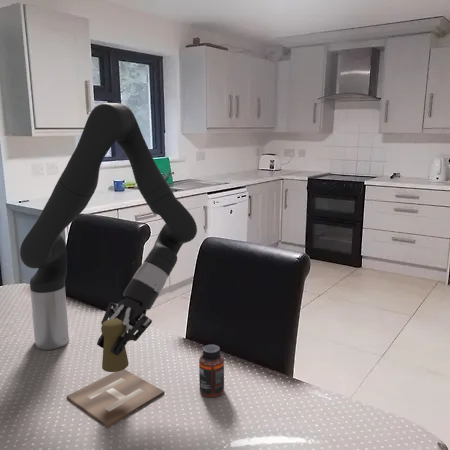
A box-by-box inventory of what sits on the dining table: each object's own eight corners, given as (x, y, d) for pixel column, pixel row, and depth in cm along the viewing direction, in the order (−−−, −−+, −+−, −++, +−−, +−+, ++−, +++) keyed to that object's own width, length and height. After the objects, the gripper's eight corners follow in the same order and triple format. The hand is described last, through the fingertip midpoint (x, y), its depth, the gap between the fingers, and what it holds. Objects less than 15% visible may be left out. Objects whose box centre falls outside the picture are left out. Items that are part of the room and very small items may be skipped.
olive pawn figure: (121, 373, 97) (119, 327, 95) (97, 370, 98) (93, 325, 96) (132, 359, 103) (130, 316, 101) (109, 357, 104) (106, 314, 102)
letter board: (66, 398, 101) (66, 395, 101) (122, 370, 113) (122, 368, 113) (107, 427, 91) (107, 425, 91) (164, 393, 103) (164, 391, 103)
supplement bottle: (227, 387, 106) (227, 344, 104) (219, 401, 101) (219, 356, 98) (204, 382, 108) (204, 340, 106) (195, 395, 103) (195, 352, 100)
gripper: (118, 271, 107) (78, 334, 100) (157, 284, 98) (115, 354, 91) (136, 286, 112) (99, 346, 105) (175, 299, 103) (136, 366, 96)
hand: (107, 349), depth 98 cm, fingers closed on olive pawn figure, 4 cm apart
